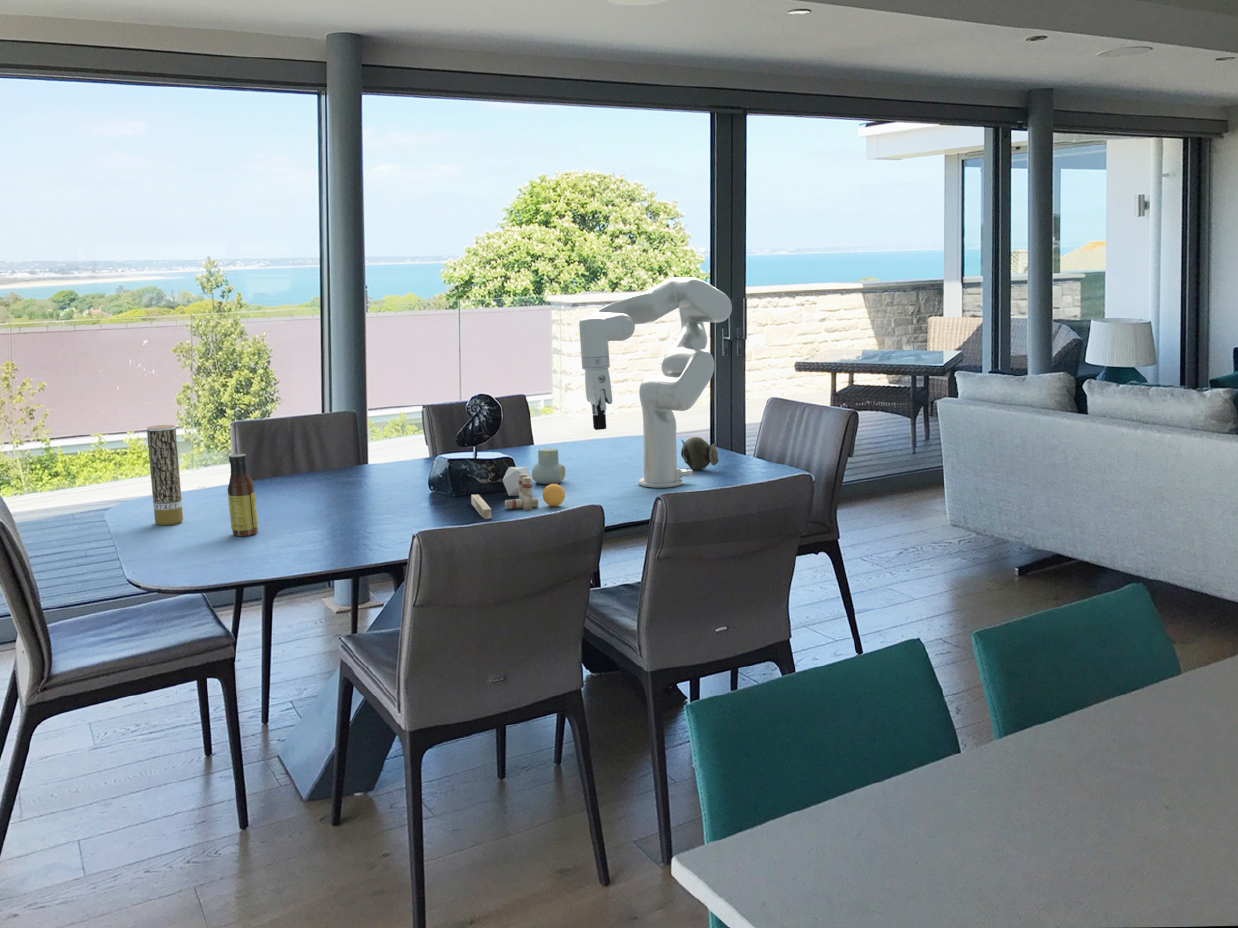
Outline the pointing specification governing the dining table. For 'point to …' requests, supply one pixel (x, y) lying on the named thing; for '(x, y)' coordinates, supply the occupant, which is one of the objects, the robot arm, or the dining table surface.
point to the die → (514, 479)
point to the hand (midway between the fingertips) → (600, 428)
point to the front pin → (519, 503)
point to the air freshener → (548, 467)
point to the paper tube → (165, 474)
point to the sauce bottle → (241, 498)
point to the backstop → (481, 506)
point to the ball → (553, 495)
